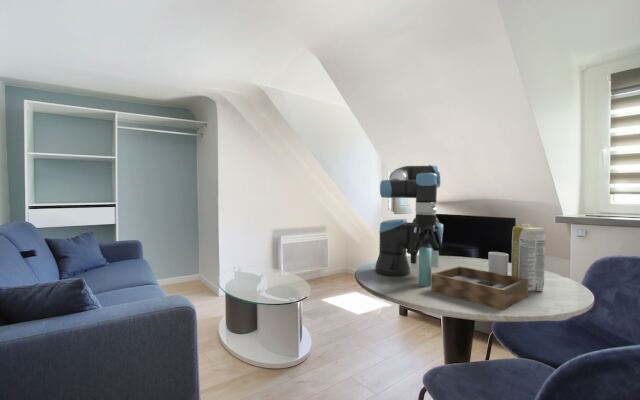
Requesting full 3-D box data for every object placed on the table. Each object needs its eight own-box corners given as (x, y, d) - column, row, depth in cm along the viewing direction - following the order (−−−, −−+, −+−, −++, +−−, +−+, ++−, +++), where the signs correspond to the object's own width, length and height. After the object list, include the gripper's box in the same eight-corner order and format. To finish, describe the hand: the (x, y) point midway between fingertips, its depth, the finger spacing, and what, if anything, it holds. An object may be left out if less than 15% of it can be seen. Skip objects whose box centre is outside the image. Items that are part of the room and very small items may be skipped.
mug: (510, 287, 118) (511, 255, 117) (491, 286, 119) (492, 254, 119) (500, 280, 128) (501, 250, 127) (482, 279, 129) (483, 250, 129)
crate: (431, 290, 113) (431, 273, 113) (459, 281, 126) (459, 266, 126) (503, 310, 95) (503, 290, 95) (527, 296, 107) (528, 279, 107)
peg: (416, 284, 121) (416, 248, 121) (423, 282, 124) (423, 246, 123) (426, 287, 117) (427, 249, 117) (433, 285, 120) (433, 248, 120)
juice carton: (532, 285, 121) (533, 222, 120) (547, 292, 113) (549, 225, 112) (508, 285, 121) (509, 222, 120) (521, 291, 113) (523, 224, 112)
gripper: (415, 215, 109) (414, 276, 109) (452, 213, 125) (451, 266, 125) (397, 214, 115) (396, 272, 115) (434, 212, 131) (434, 263, 131)
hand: (425, 269), depth 120 cm, fingers open, 13 cm apart
